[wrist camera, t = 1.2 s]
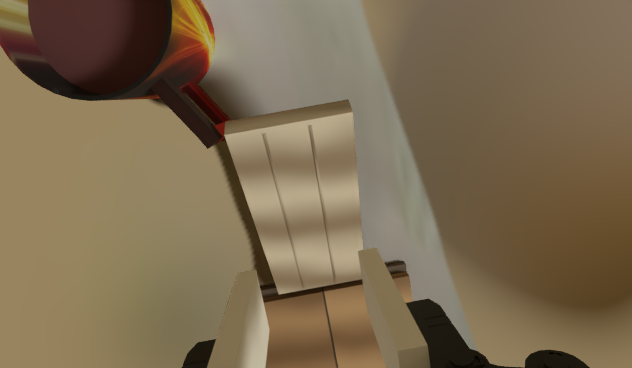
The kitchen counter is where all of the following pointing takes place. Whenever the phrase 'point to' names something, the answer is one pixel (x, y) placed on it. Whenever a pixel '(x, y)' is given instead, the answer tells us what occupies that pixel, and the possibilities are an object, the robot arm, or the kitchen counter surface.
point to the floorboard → (325, 325)
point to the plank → (302, 192)
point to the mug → (118, 52)
